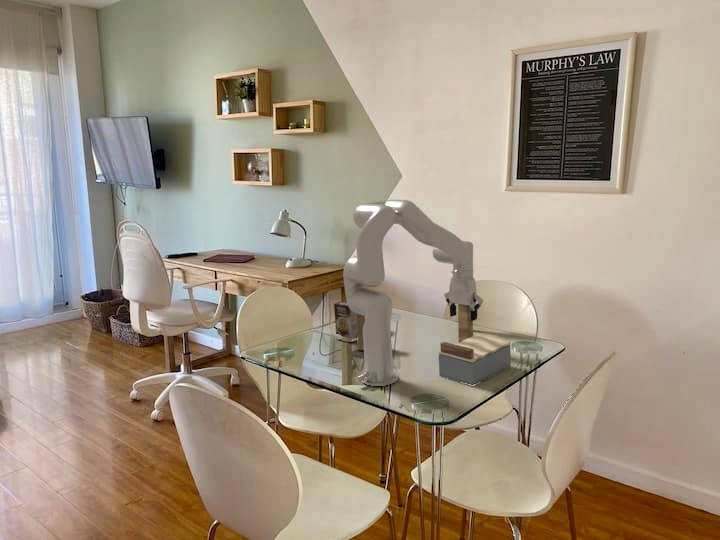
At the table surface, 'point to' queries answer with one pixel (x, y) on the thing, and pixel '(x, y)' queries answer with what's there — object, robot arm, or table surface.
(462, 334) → the brown wooden bar
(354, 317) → the coffee box
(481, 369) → the grey open box
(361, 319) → the wooden block
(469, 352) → the lid
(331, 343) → the table surface
